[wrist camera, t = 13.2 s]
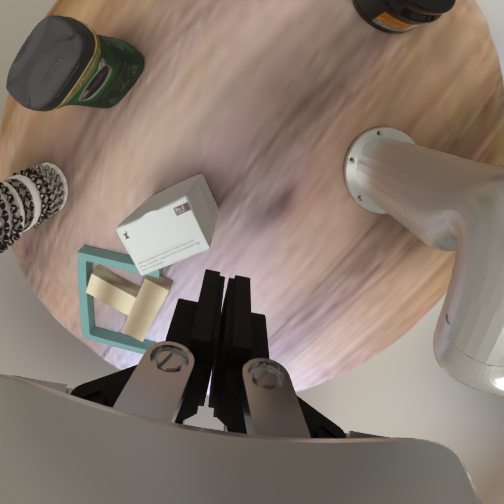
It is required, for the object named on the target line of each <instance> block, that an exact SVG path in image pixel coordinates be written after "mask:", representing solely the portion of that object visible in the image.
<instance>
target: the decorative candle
mask: <svg viewBox="0 0 504 504" xmlns="http://www.w3.org/2000/svg"><path fill="white" fill-rule="evenodd" d="M67 197H68V184H67V179H66V177H65V175H64V174H63V172H62V170H61V169H60V168H58V167H57V166H56V165H55V164H52V163H48V162H46V163H42V164H38V165H37V166H32V170H30V168H26V169H25V171H23V170H21V171H19V172H18V173H13V175H12V177H9V178H7V179H5V180H4V181H1V180H0V253H3V252H4V251H5V250H7V249H8V247H9V245H10V246H11V245H13V244H14V242H15V241H16V240H18V239H19V238H20V236H21V234H22V232H24V231H27V230H28V229H30V228H35V227H36V225H37V224H41V223H42V220H43V221H46V220H48V218H49V217H52V216H53V215H54V214H55V213H57V212H58V211H59V210H61V209H62V208H63V207H64V205H65V203H66V201H67Z"/></svg>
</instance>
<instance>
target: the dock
mask: <svg viewBox="0 0 504 504" xmlns="http://www.w3.org/2000/svg"><path fill="white" fill-rule="evenodd" d="M92 262H93V263H97V264H101V265H105V266H109V267H113V268H118V269H122V270H126V271H131V272H135V273H139V271H138V269H137V267H136V265H135V263H134V262H133V260H132V258H131V256H129V255H125V254H120V253H116V252H111V251H107V250H102V249H98V248H94V247H89V246H85V245H84V246H83V247H82V248H81V249H80V250H79V251H78V282H79V298H80V311H81V321H82V331H83V338H87V339H90V340H93V341H97V342H100V343H104V344H107V345H111V346H114V347H118V348H122V349H126V350H130V351H133V352H137V353H142V354H145V352H146V350H147V349H148V348H149V347H150V346H151V345H153V344H155V343H156V342H153V341H149V340H144V341H143V342H141V341H139V340H137V339H135V338H133V337H131V336H128V335H124V334H120V333H117V332H113V331H109V330H105V329H102V328H98V327H95V322H94V307H93V296H91V295H90V294H88V293H86V290H87V286H88V283H89V280H90V277H91V274H92ZM162 269H163V268H161V269H158V270H156V271H153V272H151V273H148V274H146V275H148V276H153V277H157V278H159V276H160V274H161V272H162ZM139 274H140V273H139Z"/></svg>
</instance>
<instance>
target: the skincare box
mask: <svg viewBox="0 0 504 504" xmlns="http://www.w3.org/2000/svg"><path fill="white" fill-rule="evenodd" d="M218 211H219V209H218V207H217V204H216V202H215V200H214V198H213V195H212V193H211V191H210V189H209V186H208V184H207V182H206V180H205V177H204V175H203V173H201V174H197V175H195V176H192V177H190V178H188V179H185V180H183V181H181V182H179V183H177V184H175V185H173V186H171V187H168V188H166V189H165V190H163V191H161V192H159V193H157V194H154V195H152V196H151V197H150V198H149V199H148V200H146V201H145V202H144V203H143V204H142V205H141V206H139V207H138V208H137V209H136V210H135V211H134V212H133V213H132V214H131V215H129V216H128V217H127V218H126V219H125V220H124V221H123V222H122V223H121V224H120V225H119V226H117V227H116V229H115V230H116V232H117V233H118V235H119V237H120V239H121V241H122V243H123V244H124V246H125V248H126V250H127V251H128V253H129V255H130V256H131V258H132V260H133V262H134V263H135V265H136V267H137V269H138V271H139V273H140V274H141V276H143V275H146V274H148V273H151V272H153V271H156V270H158V269H161V268H163V267H166V266H169V265H171V264H174V263H176V262H178V261H181V260H183V259H186V258H188V257H191V256H193V255H196V254H198V253H200V252H203V251H205V250H208V249H210V245H211V241H212V236H213V232H214V228H215V224H216V220H217V215H218Z"/></svg>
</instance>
